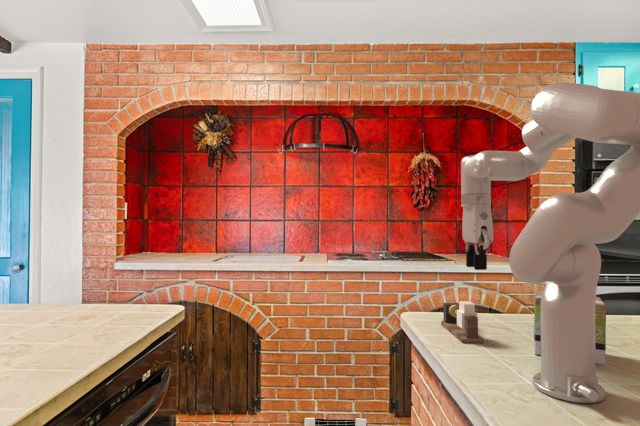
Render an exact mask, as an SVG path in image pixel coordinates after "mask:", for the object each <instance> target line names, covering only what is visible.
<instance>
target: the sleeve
mask: <svg viewBox="0 0 640 426" xmlns="http://www.w3.org/2000/svg"><path fill="white" fill-rule="evenodd" d="M458 304H459V310H457V325H458V326H459V327H460V328H462V329H465V316H476V317H478V312H476V310H475V309H476V307H475V303H473V302H472V301H470V300H461V301H458Z"/></svg>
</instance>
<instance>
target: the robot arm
mask: <svg viewBox="0 0 640 426" xmlns="http://www.w3.org/2000/svg"><path fill="white" fill-rule="evenodd" d="M530 115H531V119H530V120H528V121H527V122H525V124H524V125H523V127H522V130H521V137H522V138H521V139H522V141H523V143H524V145H525V147H523V148H522V149H519V150H518V151H511V150H483V151H480V152H478V153H476V154H473V155H467V156H464V157H463V158H462V159H461V162H460V188H461V189H460V190H461V191H460V194H461V195H460V197H461V198H460V199H461V200H460V203H461V205H460V206H461V208H462V207H463V209H462V210H463V211H462V224H461V225H462V227H461V228H462V229H461V231H462V232H461V233H462V234H461V235H462V236H461V237H462V240H463V241H464V245H465V252H466V253H465V257H466V258H465V262H466V263H465V265H466V267H467V268H473V269H474V270H475V271H485V270H487V268H488V261H487V260H488V257H487V256H488V250H489V247H490V245H491V244H492V243H493V242H494V225H493V214H492V213H493V212H492V208H491V206H492V194H491V193H492V189H491V187H492V185H491V184H492V183H491V181H497V182H498V181H499V182H500V181H503V182H504V181H506V182H509V181H510V182H516V181H521V180H524V179H526V178H528V177H530V176H532V175H535V174H536V173H537V172H539V171H541V170H542V169H543V168H545V167H546V166H547V164H548V163H549V161H550V160H551V158H552V156H553V152H555V151H557V150H558V149H560V148H562V147H563V146H566V145H567V144H568V143H570V142H572V141H574V140H575V139H581V140H583V141H588V142H592V143H593V142H594V143H598V144H599V143H600V144H614V145H630V148H629V149H628V150H627V151H626V152H625V153H623V154H622V155H620V156H619V157H617V158H616V159H614V160H613V161H612V162H611V163H610V164H609V165H607V166H606V168H605V169H604V170H603V171H602V173H601V174H600V176H599V177H598V179H596V181H595V182H594V183H593V184H592V186H591V187H589V189H587V190H586V191H582V192H562V193H557V194H554V195H552V196H550V197H549V198H548V197H547V199H545V200H544V201H543V202H541V204H540V205H539V206H537V208H536V210H535V211H534V212H533V214H532V216H531V217H530V218H529V220H528V221H527V222H526V224H525V226H524V227H523V229H522V230H521V232H520V233H519V235H518V236H517V238H516V239H515V240H514V242H513V244H512V247H510V248H511V249H510V252H509V256H508V257H509V258H508V260H509V261H508V263H509V267H510V270H511V272H512V274H513V275H514V276H515V277H516V278H517V279H518V280H519V281H521V282H523V283H526V284H533V285H542V284H545V286H544V288H543V290H542V292H543V293H542V297H541V355H540V372H538V373H535V374H534V375H533V376H532V385H533V387H535V388H536V389H537V390H538V391H540V392H541V393H544V394H545V395H548V396H550V397H552V398H555V399H560V400H563V401H567V402H572V403H579V404H593V403H599V402H602V401H603V400H605V398H606V390H605V388H604V387H603V386H602V385H600V384H599V377H598V376H597V375H596V372H597V371H596V365H597V364H596V355H595V307H596V306H595V305H596V297H597V290H598V289H597V288H598V283H599V278H600V274H601V269H602V256H601V253H600V251H599V248H598V247H597V246H596V245H597V244H598V245H601V244H606V243H610V242H613V241H615V240H617V239H618V238H619V237H620V236H621V235H622V234H623V233H624V232H625V231H626V230H627V229H628V227H629V226H630V225H631V224H632V223H633V222H634V220H635V219H636V218H637V217H638V216H639V215H640V92H635V91H624V90H617V89H608V88H607V89H606V88H601V87H598V86H595V85H591V84H581V83H573V82H566V81H565V82H564V81H558V82H557V81H556V82H553V83H550V84H548V85H546V86H544V87H543V88H541V89H540V90H539V91H538V92H537V93H536V95H535V96H534V98H533V100H532V102H531V104H530Z"/></svg>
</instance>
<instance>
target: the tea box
mask: <svg viewBox="0 0 640 426" xmlns="http://www.w3.org/2000/svg"><path fill="white" fill-rule="evenodd" d="M542 293H543V291H534V302H533V304H534V313H533V316H534V317H533V319H534V320H533V345H534V355H538V356H541V297H542ZM595 306H596V307H595V355H596V365H600V364H601V365H600V366H604V365H606V364H605V363H606V348H607V346H606V345H607V343H606V341H607V340H606V338H607V337H606V335H607V334H606V330H607V329H606V328H607V305H606V304H605V303H604V301H603V300H602V298H600V297H599V296H596V305H595Z"/></svg>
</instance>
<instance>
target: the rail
mask: <svg viewBox="0 0 640 426" xmlns="http://www.w3.org/2000/svg"><path fill="white" fill-rule="evenodd" d="M442 305H443V306H442V307H443V320H441V327H443V328H444V329H446V330H447V331H448V332H449V333H450V334H451V335H452V336H453V337H454V338H456V339H457V340H458V341H459V342H461V344H475V343H476V344H482V343H483V344H484V343H485V341H484V340H485V339H484V337H482V336H481V335H480V334H479V317H478V316H477V317H476V316H465V329H462V328H460V327H459V326H458V325H457V310H459V302H443V304H442Z"/></svg>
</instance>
